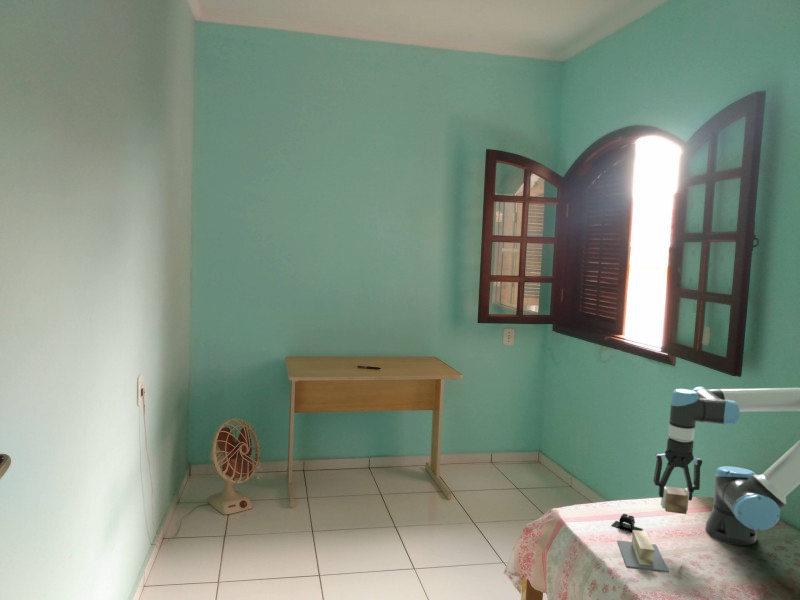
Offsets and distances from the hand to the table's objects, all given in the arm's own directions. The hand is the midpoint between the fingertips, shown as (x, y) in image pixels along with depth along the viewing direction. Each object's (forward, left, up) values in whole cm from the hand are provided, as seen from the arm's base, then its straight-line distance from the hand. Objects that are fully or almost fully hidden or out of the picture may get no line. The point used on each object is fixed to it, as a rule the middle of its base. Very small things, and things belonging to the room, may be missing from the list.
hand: (673, 507), depth 196 cm
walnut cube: (0, 0, 0) cm, 0 cm away
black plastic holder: (+12, -11, -14) cm, 21 cm away
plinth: (+11, +8, -13) cm, 19 cm away
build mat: (+11, +8, -13) cm, 19 cm away
